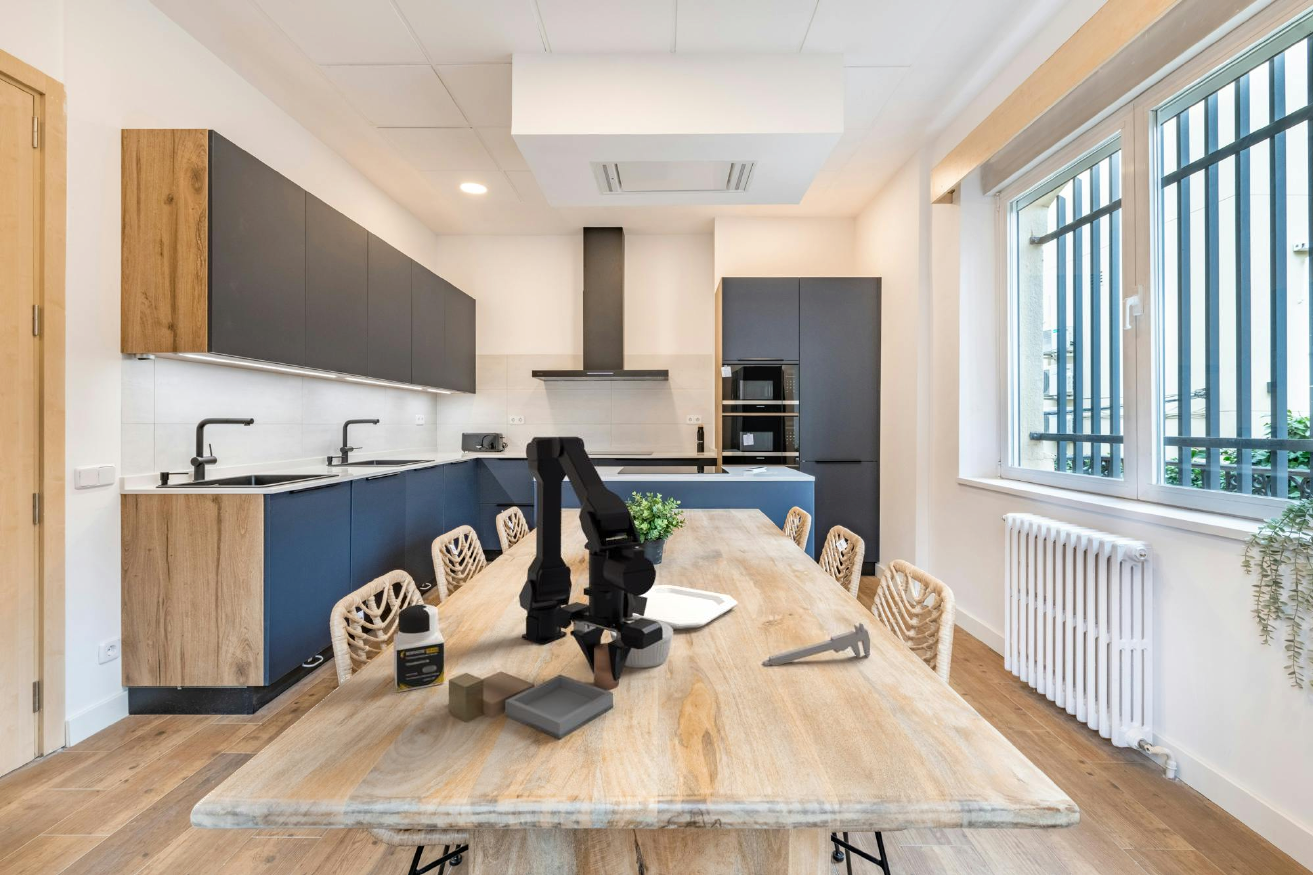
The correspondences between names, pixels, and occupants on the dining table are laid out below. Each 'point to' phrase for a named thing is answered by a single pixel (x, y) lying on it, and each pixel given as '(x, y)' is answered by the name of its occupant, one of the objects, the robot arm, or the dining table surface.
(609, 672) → the dowel
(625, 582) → the robot arm
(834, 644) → the caliper
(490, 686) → the board
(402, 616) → the medicine bottle
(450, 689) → the rectangular block
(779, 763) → the dining table surface
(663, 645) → the ramekin
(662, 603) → the plate
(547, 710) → the tray
